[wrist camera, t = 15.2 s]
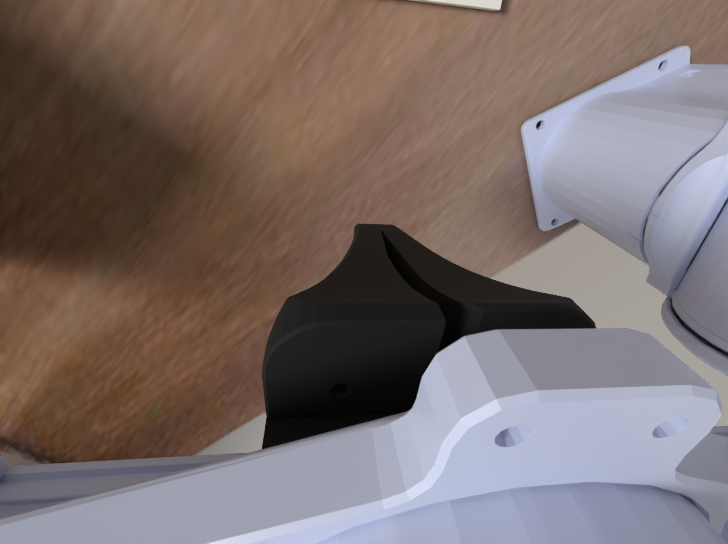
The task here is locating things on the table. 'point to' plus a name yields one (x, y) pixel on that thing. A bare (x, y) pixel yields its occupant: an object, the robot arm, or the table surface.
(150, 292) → the table surface
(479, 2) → the board
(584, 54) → the table surface
